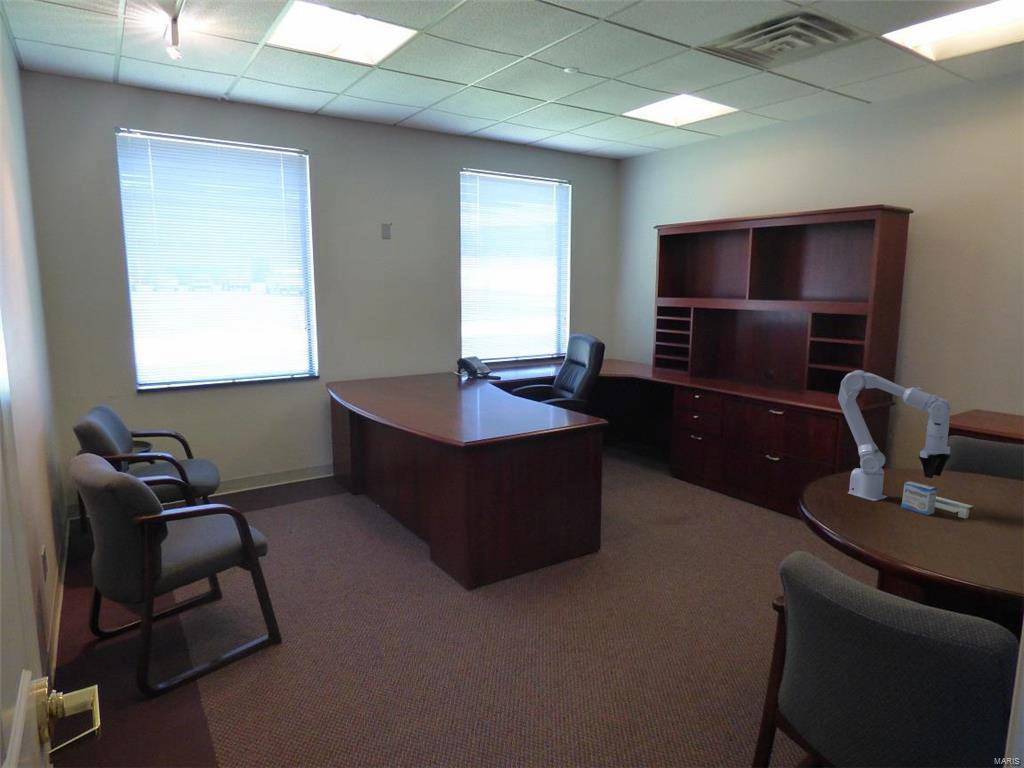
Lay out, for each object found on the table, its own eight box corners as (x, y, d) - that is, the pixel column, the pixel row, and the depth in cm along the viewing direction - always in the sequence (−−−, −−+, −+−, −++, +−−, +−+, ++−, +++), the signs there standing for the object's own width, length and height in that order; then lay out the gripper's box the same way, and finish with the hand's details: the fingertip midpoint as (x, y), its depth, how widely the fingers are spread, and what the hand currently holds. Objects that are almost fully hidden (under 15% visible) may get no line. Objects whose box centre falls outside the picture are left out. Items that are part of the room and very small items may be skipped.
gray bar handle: (904, 501, 203) (904, 494, 203) (907, 500, 204) (907, 493, 204) (965, 518, 187) (966, 510, 187) (968, 517, 188) (969, 509, 188)
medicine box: (900, 508, 196) (903, 482, 195) (908, 505, 199) (910, 480, 197) (927, 515, 190) (930, 489, 188) (934, 513, 192) (937, 487, 191)
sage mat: (908, 500, 204) (908, 499, 204) (926, 494, 210) (926, 493, 210) (954, 513, 192) (954, 512, 192) (972, 506, 198) (972, 505, 198)
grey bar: (905, 494, 203) (905, 491, 203) (907, 493, 203) (907, 490, 203) (966, 510, 187) (967, 507, 187) (968, 510, 188) (968, 506, 188)
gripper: (939, 440, 187) (934, 482, 189) (962, 435, 194) (957, 476, 196) (914, 436, 193) (910, 477, 195) (938, 431, 200) (933, 470, 202)
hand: (932, 476), depth 196 cm, fingers open, 4 cm apart
